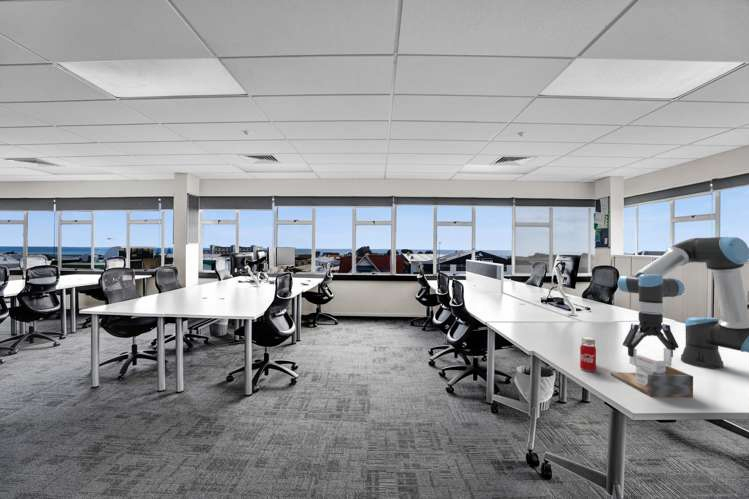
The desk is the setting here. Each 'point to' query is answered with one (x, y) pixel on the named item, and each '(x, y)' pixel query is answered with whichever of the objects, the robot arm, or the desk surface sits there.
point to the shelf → (661, 383)
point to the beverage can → (588, 357)
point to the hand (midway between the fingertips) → (650, 364)
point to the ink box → (648, 368)
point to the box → (588, 340)
